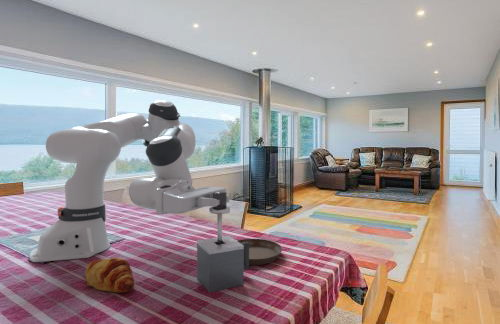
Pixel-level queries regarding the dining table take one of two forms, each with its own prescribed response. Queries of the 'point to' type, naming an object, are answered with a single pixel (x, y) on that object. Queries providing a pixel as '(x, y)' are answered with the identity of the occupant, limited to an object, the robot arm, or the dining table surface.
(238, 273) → the matte gray cube
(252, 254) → the plant saucer
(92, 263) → the croissant
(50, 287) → the dining table surface
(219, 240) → the plunger
